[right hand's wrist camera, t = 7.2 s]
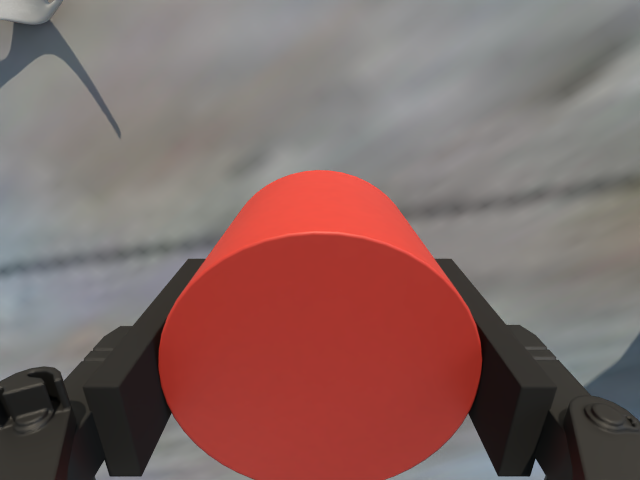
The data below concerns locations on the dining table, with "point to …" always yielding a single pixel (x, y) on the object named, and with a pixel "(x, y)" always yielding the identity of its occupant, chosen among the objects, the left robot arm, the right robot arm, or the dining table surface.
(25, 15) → the fork
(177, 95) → the dining table surface
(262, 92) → the dining table surface
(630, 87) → the dining table surface
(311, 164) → the dining table surface
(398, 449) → the canister
